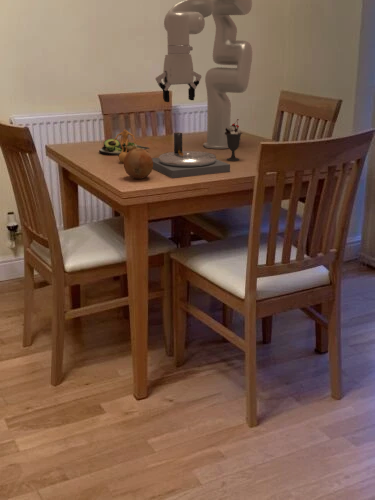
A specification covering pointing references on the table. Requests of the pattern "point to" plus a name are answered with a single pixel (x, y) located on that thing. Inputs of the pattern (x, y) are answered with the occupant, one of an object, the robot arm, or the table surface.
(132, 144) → the avocado toast plate
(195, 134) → the table surface
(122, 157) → the figurine
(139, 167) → the onion
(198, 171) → the instrument base
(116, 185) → the table surface
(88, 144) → the table surface
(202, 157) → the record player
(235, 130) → the sundae
